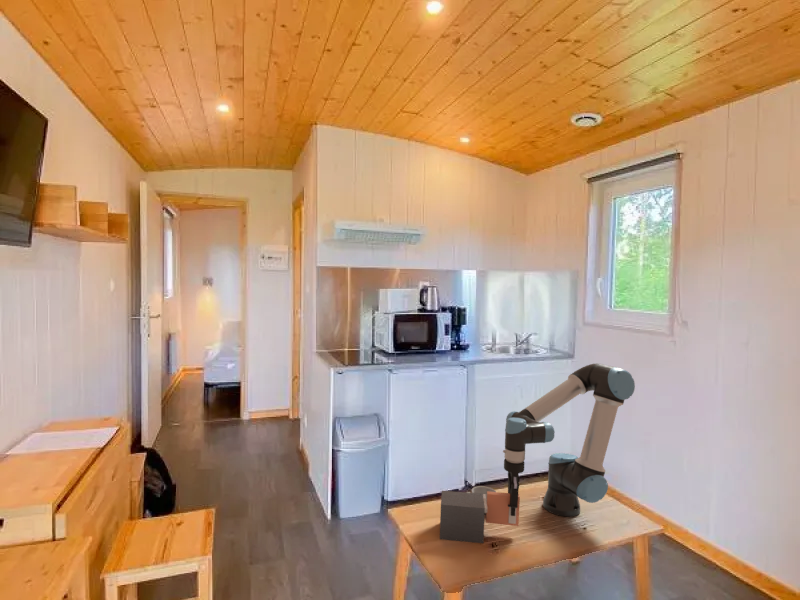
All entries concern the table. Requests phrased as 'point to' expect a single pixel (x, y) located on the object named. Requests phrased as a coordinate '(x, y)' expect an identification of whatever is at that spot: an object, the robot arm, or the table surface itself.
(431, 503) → the table surface
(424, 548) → the table surface
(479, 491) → the teacup
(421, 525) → the table surface
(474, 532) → the block
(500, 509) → the salmon orange rectangular slab
